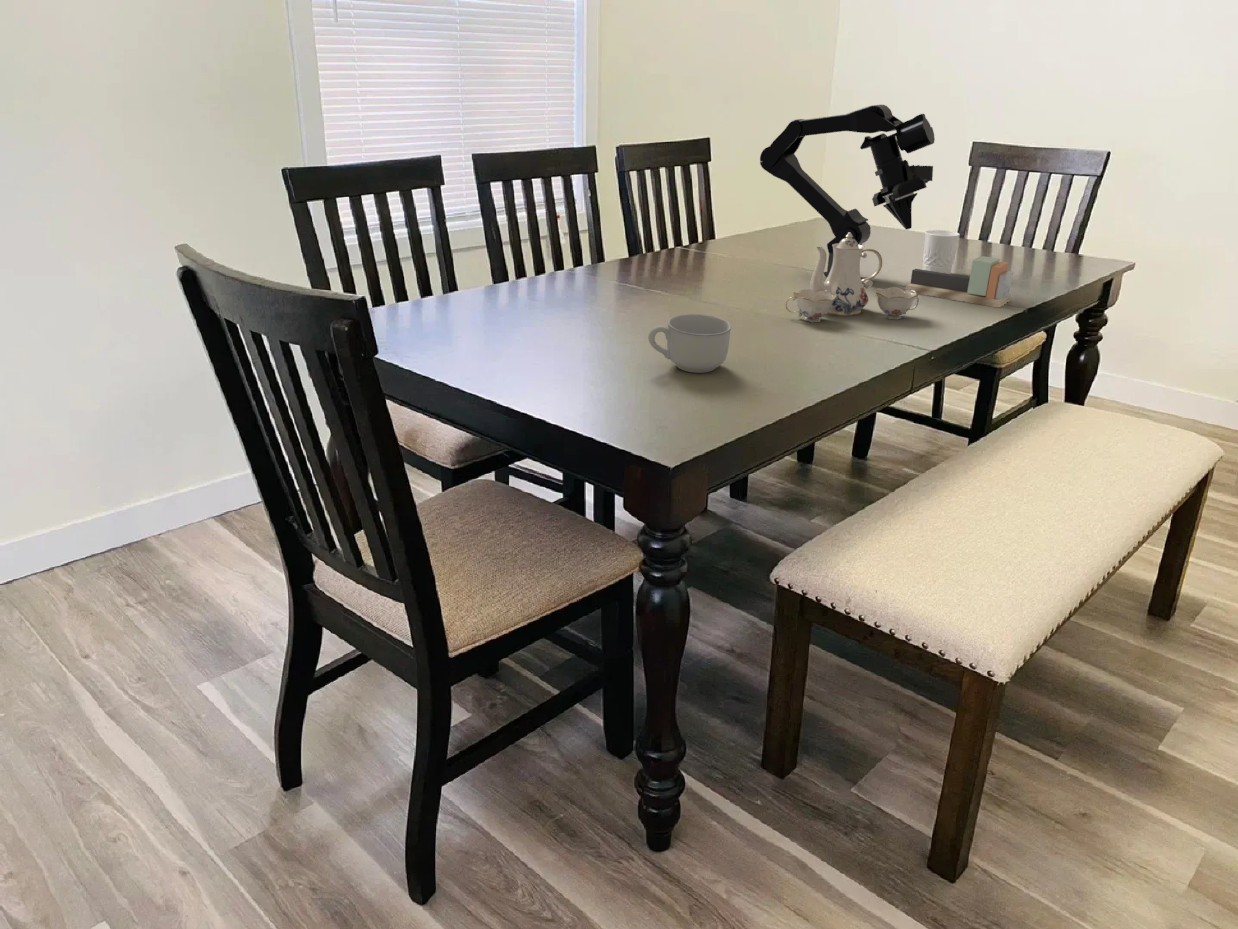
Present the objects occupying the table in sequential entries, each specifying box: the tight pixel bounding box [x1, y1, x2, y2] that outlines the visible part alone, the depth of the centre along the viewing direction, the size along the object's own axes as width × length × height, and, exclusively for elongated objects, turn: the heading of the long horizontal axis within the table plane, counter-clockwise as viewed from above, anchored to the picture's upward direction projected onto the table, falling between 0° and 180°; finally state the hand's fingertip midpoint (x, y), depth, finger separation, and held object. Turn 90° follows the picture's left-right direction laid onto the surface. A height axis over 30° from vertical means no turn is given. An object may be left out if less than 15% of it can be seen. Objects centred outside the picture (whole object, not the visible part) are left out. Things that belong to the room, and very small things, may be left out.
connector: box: [995, 270, 1014, 300], centre depth 198 cm, size 1×5×5 cm, turn 142°
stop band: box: [986, 261, 1010, 299], centre depth 198 cm, size 2×6×7 cm, turn 142°
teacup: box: [648, 313, 732, 374], centre depth 155 cm, size 14×11×8 cm
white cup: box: [921, 229, 960, 274], centre depth 223 cm, size 8×8×10 cm
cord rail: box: [910, 268, 970, 292], centre depth 204 cm, size 20×2×3 cm, turn 52°
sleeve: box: [967, 255, 1001, 296], centre depth 200 cm, size 4×6×7 cm
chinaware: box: [784, 232, 920, 323], centre depth 187 cm, size 28×17×17 cm, turn 105°
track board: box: [904, 282, 1011, 308], centre depth 205 cm, size 21×7×2 cm, turn 52°
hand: (908, 228), depth 208 cm, fingers closed
